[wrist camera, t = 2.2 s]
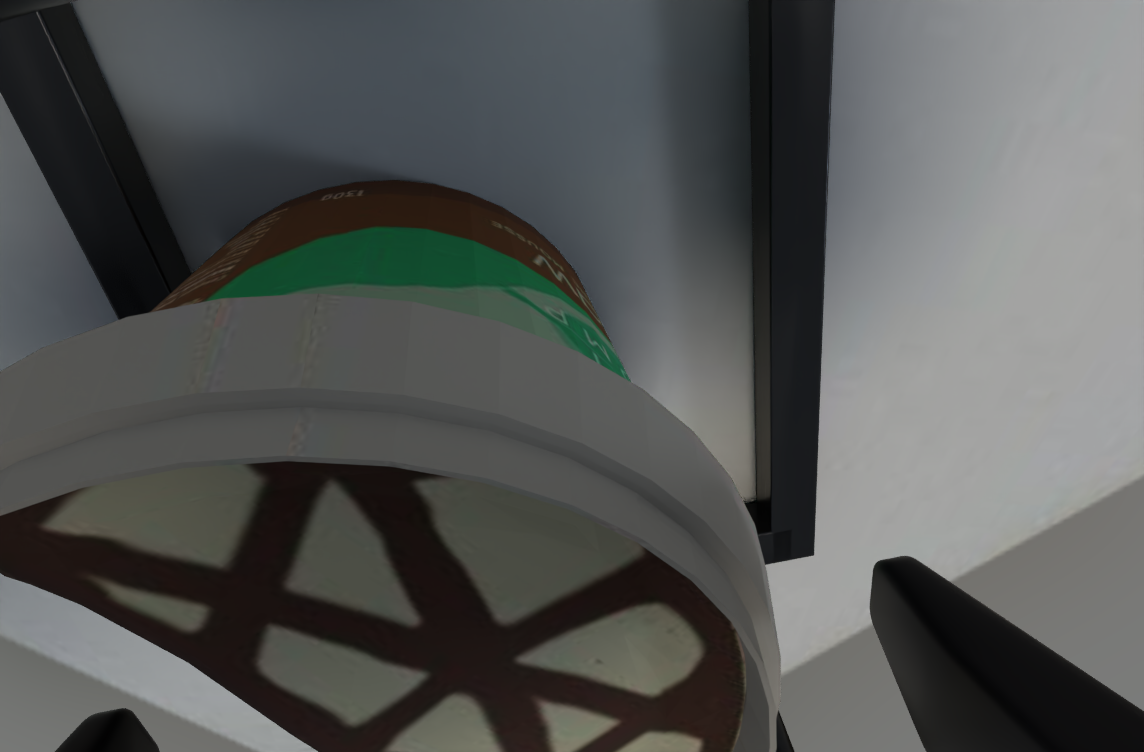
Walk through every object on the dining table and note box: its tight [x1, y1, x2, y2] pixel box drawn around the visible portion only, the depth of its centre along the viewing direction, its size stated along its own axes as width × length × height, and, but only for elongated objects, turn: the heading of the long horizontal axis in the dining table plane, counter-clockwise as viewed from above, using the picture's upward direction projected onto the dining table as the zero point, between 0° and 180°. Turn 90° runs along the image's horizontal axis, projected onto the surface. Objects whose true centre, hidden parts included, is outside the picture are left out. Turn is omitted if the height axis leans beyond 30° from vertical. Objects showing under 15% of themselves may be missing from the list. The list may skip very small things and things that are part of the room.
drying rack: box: [0, 0, 835, 752], centre depth 14 cm, size 14×17×8 cm
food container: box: [0, 180, 780, 752], centre depth 13 cm, size 12×6×10 cm, turn 39°
